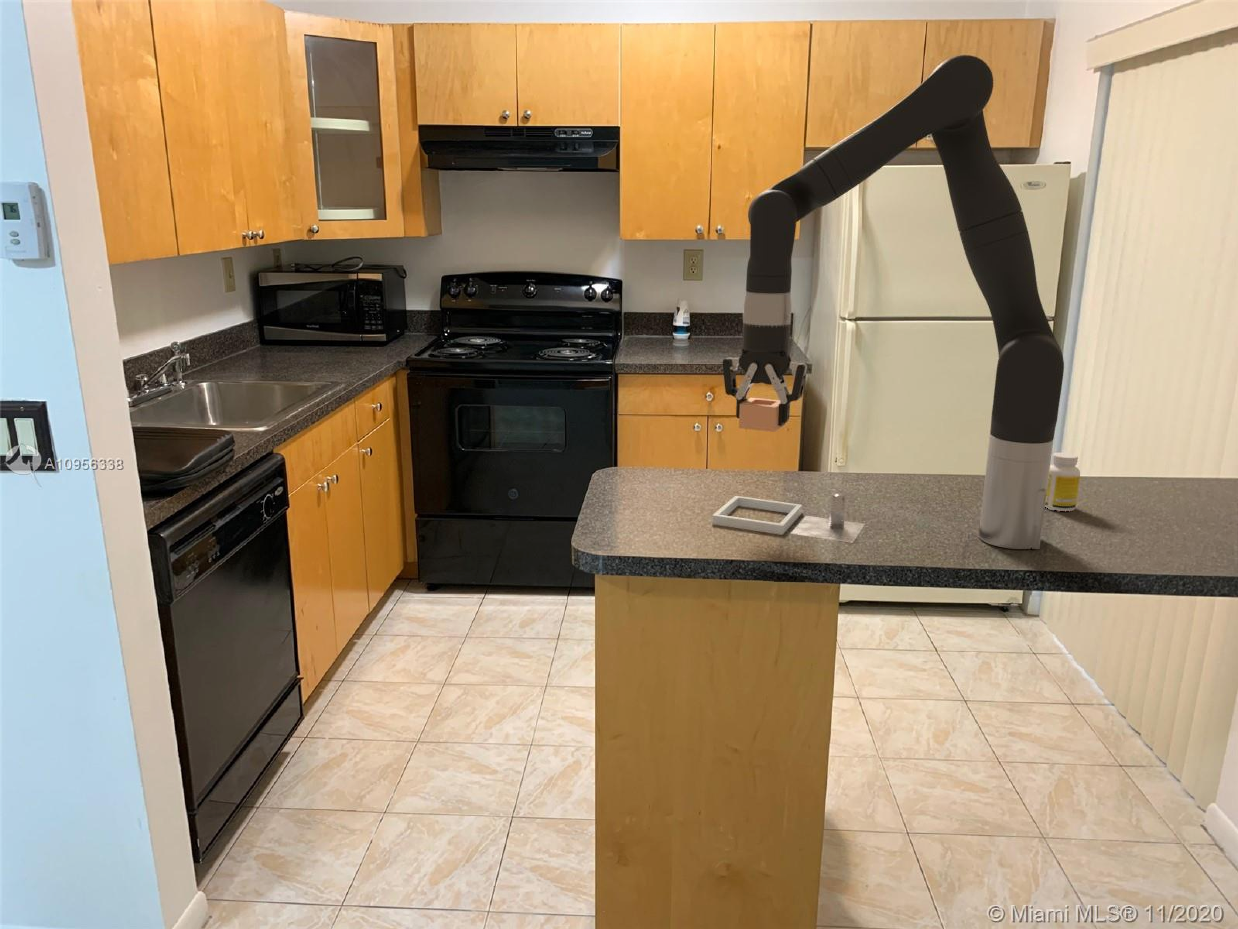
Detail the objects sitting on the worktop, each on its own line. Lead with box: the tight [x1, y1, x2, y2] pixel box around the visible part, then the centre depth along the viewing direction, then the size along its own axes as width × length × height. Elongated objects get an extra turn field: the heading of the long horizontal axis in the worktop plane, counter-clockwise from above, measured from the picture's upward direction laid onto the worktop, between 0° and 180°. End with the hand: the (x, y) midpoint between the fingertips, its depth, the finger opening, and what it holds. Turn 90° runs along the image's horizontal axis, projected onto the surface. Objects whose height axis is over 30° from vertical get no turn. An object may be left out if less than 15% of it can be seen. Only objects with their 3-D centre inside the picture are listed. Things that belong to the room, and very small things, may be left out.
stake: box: [790, 492, 866, 544], centre depth 151 cm, size 10×10×6 cm
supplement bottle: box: [1045, 452, 1081, 513], centre depth 164 cm, size 5×5×10 cm
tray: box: [711, 495, 803, 536], centre depth 156 cm, size 12×12×2 cm
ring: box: [738, 397, 783, 433], centre depth 151 cm, size 6×6×4 cm
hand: (762, 422), depth 152 cm, fingers closed on ring, 6 cm apart
